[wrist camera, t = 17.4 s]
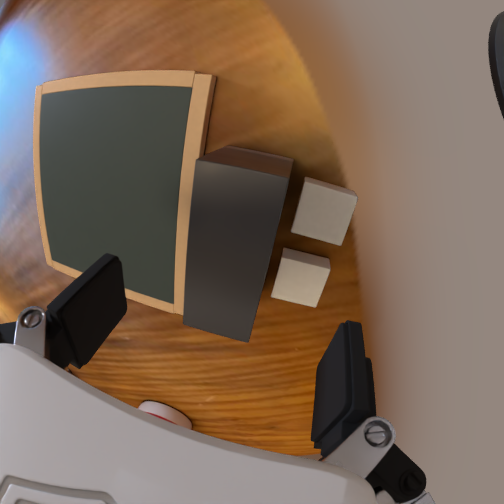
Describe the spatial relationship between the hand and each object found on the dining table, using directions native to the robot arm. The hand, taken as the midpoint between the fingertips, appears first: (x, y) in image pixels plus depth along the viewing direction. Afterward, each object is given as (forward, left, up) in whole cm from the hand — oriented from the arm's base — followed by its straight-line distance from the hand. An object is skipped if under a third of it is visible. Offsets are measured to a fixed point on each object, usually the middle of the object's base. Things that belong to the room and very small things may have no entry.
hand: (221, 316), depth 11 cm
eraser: (+1, -1, -11) cm, 11 cm away
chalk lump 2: (+4, +4, -11) cm, 12 cm away
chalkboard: (0, -14, -11) cm, 18 cm away
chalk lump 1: (-2, +4, -11) cm, 12 cm away
